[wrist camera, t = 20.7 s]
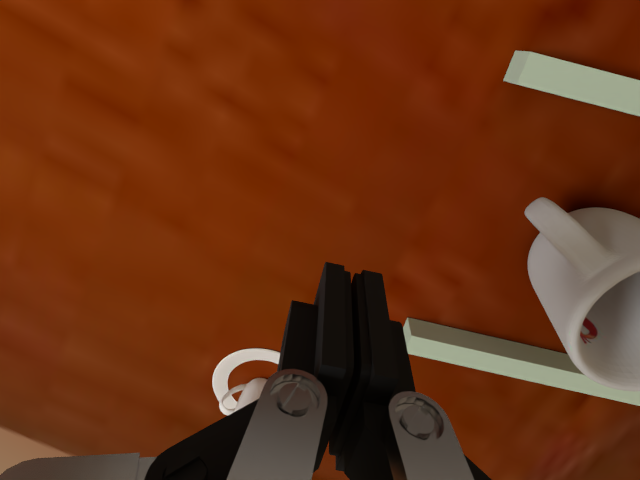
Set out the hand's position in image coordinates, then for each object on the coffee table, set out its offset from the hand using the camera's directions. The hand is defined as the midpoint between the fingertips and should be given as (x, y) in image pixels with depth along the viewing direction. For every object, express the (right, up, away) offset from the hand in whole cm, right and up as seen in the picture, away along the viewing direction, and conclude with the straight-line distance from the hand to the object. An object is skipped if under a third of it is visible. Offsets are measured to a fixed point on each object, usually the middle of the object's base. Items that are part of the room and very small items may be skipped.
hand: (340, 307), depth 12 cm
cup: (+14, +2, +14) cm, 20 cm away
